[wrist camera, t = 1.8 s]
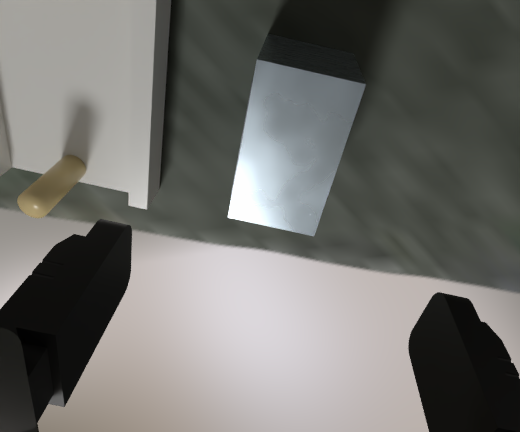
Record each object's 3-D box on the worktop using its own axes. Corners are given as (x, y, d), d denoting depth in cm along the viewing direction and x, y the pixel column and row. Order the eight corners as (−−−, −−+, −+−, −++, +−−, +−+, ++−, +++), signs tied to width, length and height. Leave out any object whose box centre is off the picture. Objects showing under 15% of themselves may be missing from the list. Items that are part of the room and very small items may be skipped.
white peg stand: (-44, -117, 17) (-161, -137, 12) (175, -66, 17) (132, -68, 13) (5, 155, 23) (-60, 201, 19) (159, 188, 24) (128, 241, 20)
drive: (267, 33, 19) (255, 58, 15) (354, 53, 19) (367, 84, 15) (241, 166, 23) (226, 217, 18) (313, 182, 23) (315, 236, 19)
